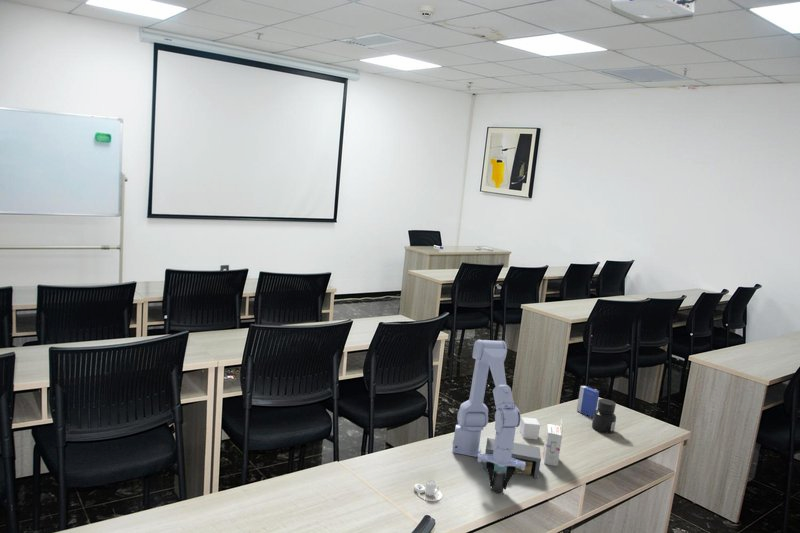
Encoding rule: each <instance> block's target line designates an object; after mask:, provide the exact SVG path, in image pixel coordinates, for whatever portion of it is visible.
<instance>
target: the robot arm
mask: <svg viewBox="0 0 800 533" xmlns="http://www.w3.org/2000/svg"><path fill="white" fill-rule="evenodd" d="M507 353H508V347H507V343H506V342H505V341H504V340H489V339H477V340H475V341H474V344H473V350H472V359H475V362H474V368H473V374H472V380H471V385H470V392H469V397H468V398H469V399H468V400H466V401H463V402H462V403H461V404H460V406H459V410H458V411H457V416H456V418H457V424H455V428H454V435H453V439H452V453H453V454H457V455H459V454H460V455H465V456H468V457H469V456H470V457H475V458H477V462H478V463H481V462H482V463H484V462H487V463H486V468H487V469H486V470H487V475H488V478H489V487H491V488H492V484H493V473H494V464H497V465H498V466H500V467H505V466H507V469H506V476H505V481H504V488H503V490H505V491H506V490H507V486H508V484H509V482H510V481H511V479H512V478H513V476H514V475H515V473H516V472H515V468H519V469H521V470H525V462H523V461H519V460H516V459H514V458H511V457H512V450H513V443H515V436H516V428H519V427H520V424H521V417H522V416H521V411H520V410H519V408H518V407H517V405H516V404H515V402H514V398H513V397H514V396H513V392H512V388H511V387H510V385H508V384H507V378H506V371H505V370H506V369H505V361H506V357H507ZM489 370H490V372H491V377H492V379H493V380H492V381H493V383H494V386H495V387H494V388H493V390H492V393H493V395H492V396H493V399H494V404H495V410H496V411H495V413H494V422H495V424H494V430H495V438H494V439H495V443H494V450H493V454H485V453H480V451H481V447H480V444H481V436H482V431H484V428H486V427H487V425H488V423H489V408H488V406H487V405H486V404H485V403H484V398H485V393H486V387H487V382H488V381H487V380H488V375H489Z"/></svg>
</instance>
